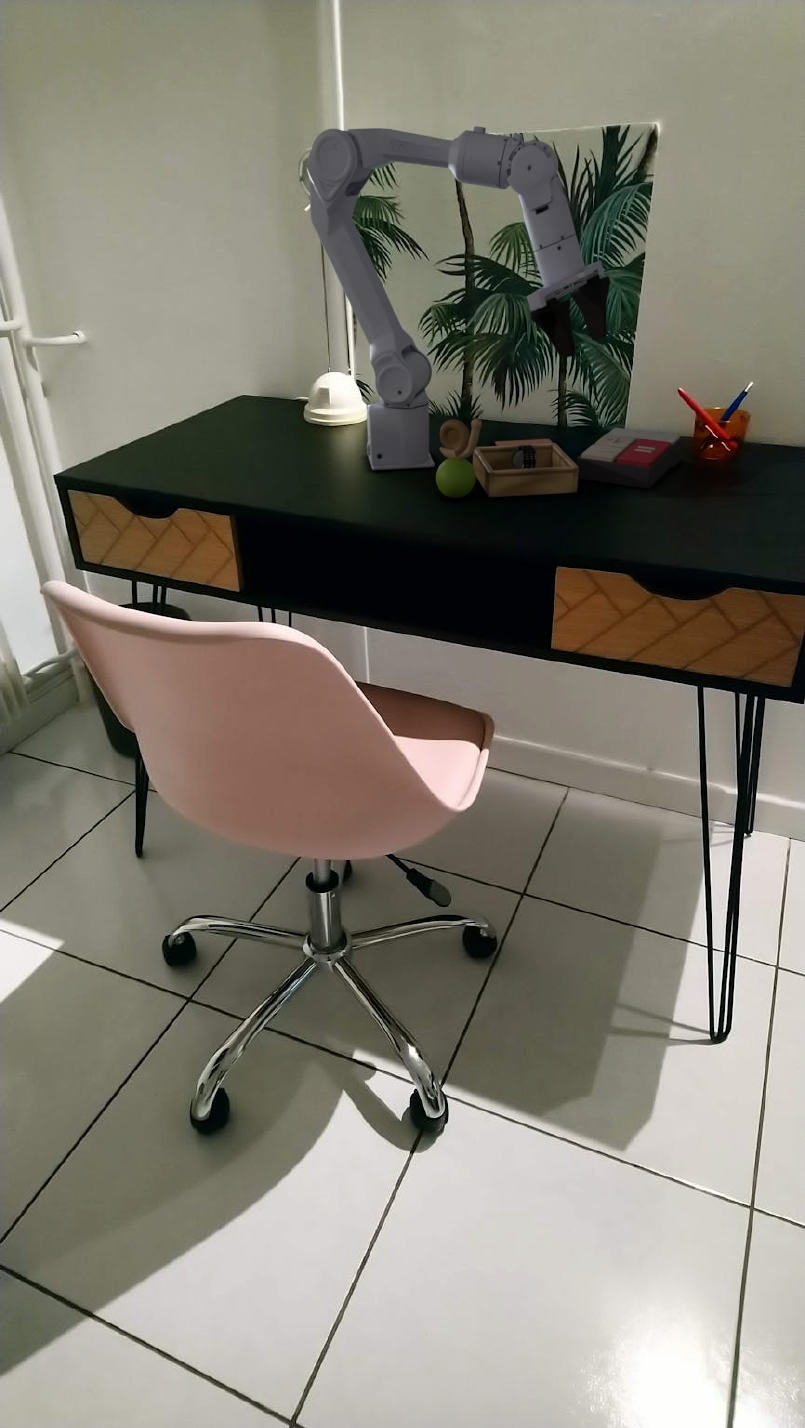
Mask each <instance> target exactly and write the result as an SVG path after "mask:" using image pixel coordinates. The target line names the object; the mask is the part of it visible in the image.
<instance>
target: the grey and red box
mask: <svg viewBox="0 0 805 1428" xmlns="http://www.w3.org/2000/svg"><path fill="white" fill-rule="evenodd" d="M683 441H684V437H683V436H680V435H679V434H672V433H663V432H655V431H647V430H637V429H629V428H621V427H614V428H613V429H611V430H610V431H609V432H608V433H606V434H604V435H603V436H602V437H600V438H599V439H598V440H597V441H595V443H593V444H592V445H591V446H589V447H588V448H587V449H586V450H584V451H583V452H582V453H581V454H580V455H579V456H578V457H577V458H576V465H577V466H578V467H579V473H578V480H586V481H592V482H599V483H605V484H606V483H607V484H612V485H618V486H619V485H620V486H625V487H626V486H627V487H632V488H633V487H634V488H640V489H644V490H645V489H648V490H649V489H651V488H652V487H653V486H654V485H655V484H656V483H657V482H658V481H659V479H660V478H662V477H663V476H664V474H665V473H666V472H667V471H669V470H670V468H671V469H673V468H674V467H675V466H676V465H678V464H679V462H680V461H681V457H682V449H683Z"/></svg>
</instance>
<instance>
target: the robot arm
mask: <svg viewBox="0 0 805 1428" xmlns="http://www.w3.org/2000/svg"><path fill="white" fill-rule="evenodd" d="M486 131H487V128H486V127H484V126H479V125H478V126H477V125H475V126H474V127H473V130H469V129H466V130H464V131H463V132H461V133H460V134H459V135H458V136H457V137H456V138H455V139H453V140H450V139H446V138H440V137H434V136H429V135H424V134H418V133H413V132H409V131H402V130H397V129H392V128H382V127H373V128H371V127H370V128H369V127H368V128H348V130H343V129H342V130H341V129H339V128H327V129H325V130H323V131H322V132H320V133H319V134H318V135H317V136H316V138H315V139H314V140H313V143H312V146H311V148H310V152H309V154H308V158H307V161H306V164H305V167H306V171H307V174H308V177H309V214H310V215H309V216H310V220H311V224H312V227H313V228H314V230H315V232H316V234H317V236H318V239H319V241H320V243H321V245H322V248H323V250H324V252H325V254H326V256H327V258H328V260H329V262H330V265H331V266H332V268H333V271H334V272H335V275H336V277H337V279H338V281H339V284H340V285H341V287H342V289H343V292H344V294H345V297H346V298H347V299H348V302H349V305H350V306H351V308H352V310H353V313H354V315H355V317H356V320H357V322H358V323H359V325H360V328H361V329H362V332H363V334H364V336H365V338H366V340H367V342H368V344H369V362H370V365H371V367H372V369H373V373H374V381H375V382H374V384H375V390H376V392H377V394H378V396H379V397H380V399H379V400H380V402H378V403H371V404H367V406H366V424H367V425H366V426H367V428H366V429H367V442H366V454H367V456H368V460H369V463H370V467H371V470H372V471H386V470H387V471H389V470H404V469H406V470H407V469H421V468H425V469H426V468H435V466H436V463H435V461H434V460H433V457H432V456H431V453H430V402H429V401H430V398H429V396H428V394H427V391H426V388H427V387H428V386H429V384H430V383H431V380H432V376H433V368H432V363H431V362H430V359H429V358H428V357H427V356H426V354H425V353H423V352H422V351H421V350H420V349H419V348H418V347H417V346H416V344H415V341H414V339H413V338H412V336H411V335H410V334H409V333H408V332H407V331H406V330H405V329H404V328H403V327H402V324H401V323H400V321H399V319H398V316H397V313H396V312H395V309H394V308H393V305H392V303H391V301H390V298H389V297H388V295H387V292H386V290H385V288H384V286H383V283H382V280H381V279H380V277H379V274H378V273H377V270H376V268H375V266H374V264H373V262H372V259H371V257H370V254H369V253H368V251H367V249H366V246H365V244H364V242H363V240H362V237H361V235H360V233H359V231H358V229H357V227H356V225H355V222H354V220H353V214H354V211H355V207H356V204H357V202H358V198H359V196H360V193H361V191H362V190H363V189H364V187H365V186H366V184H367V183H368V181H369V180H370V179H371V177H372V176H373V174H374V172H375V170H381V169H384V168H385V167H387V166H389V165H390V164H392V163H394V162H395V163H403V164H411V165H420V166H427V167H436V168H443V169H449V170H450V172H451V173H452V175H453V176H454V178H455V180H456V181H457V182H458V183H462V184H468V185H476V186H480V187H487V188H493V189H500V190H506V189H508V188H509V187H511V189H512V190H513V191H514V192H516V193H517V194H518V199H519V203H520V205H521V209H522V212H523V213H522V214H523V215H522V216H523V220H524V223H525V227H526V231H527V234H528V237H529V240H530V244H531V247H532V251H533V255H534V259H535V261H536V265H537V268H538V272H539V275H540V279H541V282H542V285H543V286H542V287H540V288H539V289H537V290H535V291H534V292H532V293H530V294H528V295H527V296H526V298H527V302H528V305H529V309H530V311H528V315H529V318H530V320H531V321H532V322H534V324H536V325H537V326H538V328H540V329H541V330H542V332H543V333H544V334H545V335H546V337H547V338H548V340H549V341H550V342H551V344H552V345H553V348H554V349H555V352H556V353H557V354H558V356H559V358H560V359H561V360H563V359H564V360H565V359H567V358H571V357H573V356H575V355H576V354H577V353H576V345H575V339H574V336H573V331H572V325H571V301H572V300H573V301H574V303H575V305H576V306H577V308H578V310H579V312H580V313H581V316H582V318H583V321H584V324H585V327H586V330H587V332H588V335H589V337H590V338H591V340H592V341H595V340H596V341H597V340H598V339H603V338H605V337H607V335H608V330H607V329H608V326H607V324H608V323H607V304H608V297H609V296H608V295H609V290H610V285H611V279H610V276H609V275H606V276H605V271H604V268H603V263H602V260H598V261H595V262H592V263H589V264H588V265H585V262H584V257H583V255H582V250H581V247H580V244H579V240H578V237H577V233H576V229H575V224H574V221H573V217H572V214H571V210H570V207H569V204H568V200H567V196H565V194H564V191H563V188H564V187H563V183H562V182H561V180H560V176H557V174H558V171H559V159H558V156H557V154H556V151H555V149H554V148H553V147H552V146H551V144H549V143H547V142H545V141H543V140H542V141H541V140H540V139H537V138H535V139H531V140H527V141H525V142H523V134H521V133H515V132H514V133H513V135H512V136H508V135H500V134H495V133H487V132H486ZM571 285H572V286H571ZM567 286H570V287H568V288H566V287H567ZM565 288H566V289H565ZM567 294H569V296H570V297H571V299H572V300H571V299H566V300H563V301H560V300H558V299H560V298H562V297H563V296H566V295H567Z"/></svg>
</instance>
